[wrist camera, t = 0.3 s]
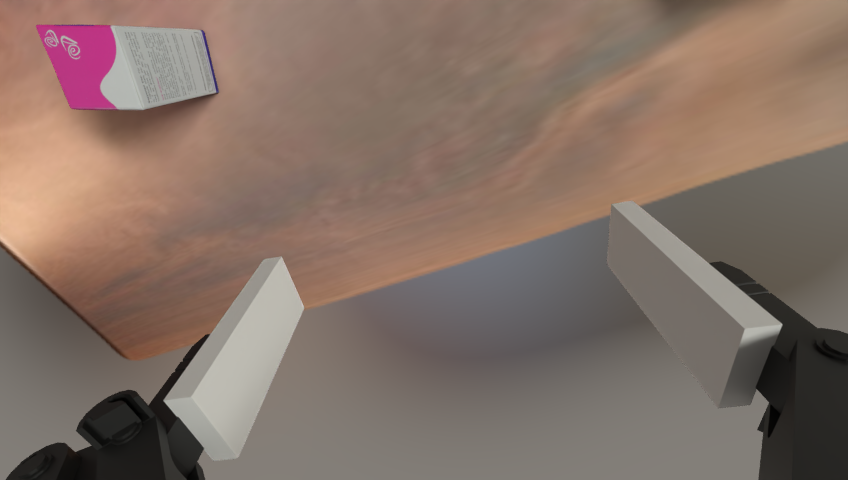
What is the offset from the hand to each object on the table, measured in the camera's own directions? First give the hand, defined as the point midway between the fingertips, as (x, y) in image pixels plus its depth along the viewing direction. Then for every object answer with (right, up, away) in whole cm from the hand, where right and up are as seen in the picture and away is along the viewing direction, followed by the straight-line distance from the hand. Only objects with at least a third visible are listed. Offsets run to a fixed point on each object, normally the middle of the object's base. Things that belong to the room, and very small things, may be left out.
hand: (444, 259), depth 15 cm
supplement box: (-25, +19, +22) cm, 38 cm away
